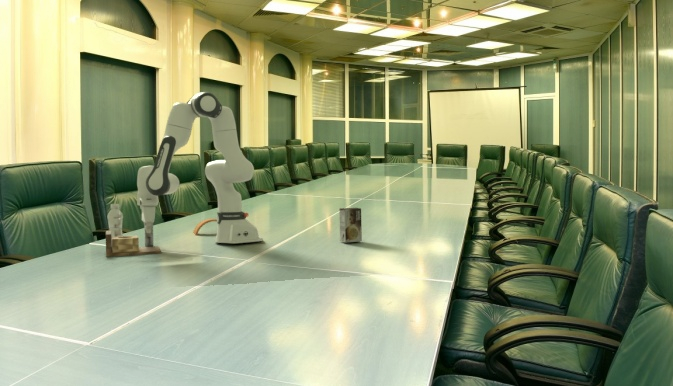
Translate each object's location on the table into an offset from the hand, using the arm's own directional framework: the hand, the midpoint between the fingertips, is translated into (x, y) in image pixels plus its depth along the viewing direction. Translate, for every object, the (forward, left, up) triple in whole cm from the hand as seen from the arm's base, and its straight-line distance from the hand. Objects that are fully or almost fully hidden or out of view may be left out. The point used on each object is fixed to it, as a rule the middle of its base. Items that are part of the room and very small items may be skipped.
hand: (147, 232), depth 222 cm
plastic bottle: (+13, -6, -7) cm, 16 cm away
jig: (+6, +12, -7) cm, 15 cm away
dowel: (-1, -1, -7) cm, 7 cm away
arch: (-33, -26, -8) cm, 43 cm away
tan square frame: (+10, +12, -6) cm, 16 cm away
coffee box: (-91, +23, -7) cm, 94 cm away
